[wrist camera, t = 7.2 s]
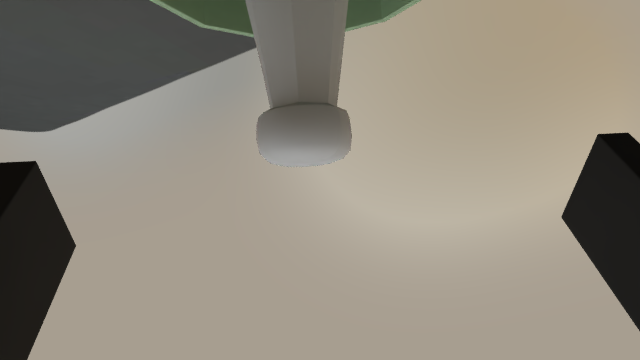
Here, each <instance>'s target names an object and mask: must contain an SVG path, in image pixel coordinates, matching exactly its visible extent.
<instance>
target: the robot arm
mask: <svg viewBox="0 0 640 360" xmlns="http://www.w3.org/2000/svg"><path fill="white" fill-rule="evenodd" d="M562 219H563V220H564V222H565V223H566V225H567V226H568V227H569V229H570V230H571V232H572V233H573V235H574V236H575V238H576V239H577V241H578V242H579V243H580V245H581V246H582V248H583V249H584V251H585V252H586V253H587V255H588V257H589V258H590V259H591V261H592V262H593V264H594V265H595V267H596V268H597V270H598V271H599V273H600V274H601V275H602V277H603V278H604V280H605V281H606V283H607V284H608V286H609V287H610V289H611V290H612V291H613V293H614V294H615V296H616V297H617V299H618V300H619V302H620V303H621V305H622V306H623V307H624V309H625V310H626V312H627V313H628V315H629V316H630V318H631V319H632V321H633V322H634V323H635V325H636V326H637V328H638V329H639V331H640V144H639V142H637V141H636V140H635V139H634V138H633V137H632V136H631V135H630V134H629V133H613V134H598V135H597V137H596V140H595V142H594V144H593V146H592V149H591V151H590V153H589V156H588V158H587V160H586V162H585V165H584V167H583V170H582V171H581V174H580V176H579V178H578V181H577V183H576V185H575V187H574V190H573V192H572V194H571V196H570V199H569V201H568V203H567V206H566V208H565V210H564V212H563V215H562ZM75 247H76V245H75V243H74V240H73V238H72V236H71V234H70V232H69V230H68V228H67V226H66V224H65V222H64V219H63V217H62V215H61V213H60V211H59V209H58V207H57V204H56V202H55V200H54V198H53V196H52V194H51V192H50V190H49V188H48V186H47V183H46V181H45V179H44V177H43V175H42V173H41V171H40V169H39V166H38V164H37V163H36V161H30V162H29V161H28V162H7V163H0V360H27V359H28V356H29V354H30V352H31V349H32V347H33V345H34V342H35V340H36V338H37V335H38V333H39V331H40V328H41V326H42V324H43V321H44V319H45V317H46V314H47V312H48V309H49V307H50V305H51V303H52V300H53V298H54V296H55V293H56V291H57V289H58V286H59V284H60V282H61V279H62V277H63V275H64V272H65V270H66V268H67V265H68V263H69V261H70V258H71V256H72V254H73V251H74V249H75Z"/></svg>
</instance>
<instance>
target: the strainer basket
mask: <svg viewBox="0 0 640 360" xmlns="http://www.w3.org/2000/svg"><path fill="white" fill-rule="evenodd" d="M150 1H152V2H154V3H156V4H158V5H160V6H162V7H163V8H165V9H167V10H169V11H171V12H173V13H175V14H177V15H179V16H181V17H183V18H184V19H186V20H188V21H190V22H192V23H194V24H196V25H198V26H200V27H203V28H208V29H214V30H219V31H224V32H229V33H235V34H240V35H245V36H250V37H254V34H253V30H252V26H251V22H250V18H249V14H248V10H247V6H246V1H245V0H150ZM419 1H421V0H348V8H347V17H346V26H345V32H346V31H350V30H354V29H358V28H361V27H365V26H369V25H373V24H377V23H381V22H385V21H387V20H389V19H390V18H392V17H394V16H396V15H397V14H399V13H401V12H402V11H404V10H406V9H407V8H409V7H411V6H413V5H414V4H416V3H417V2H419Z"/></svg>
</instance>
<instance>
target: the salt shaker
mask: <svg viewBox="0 0 640 360" xmlns="http://www.w3.org/2000/svg"><path fill="white" fill-rule="evenodd" d="M245 1H246V6H247V10H248V14H249V18H250V22H251V26H252V30H253V34H254V38H255V42H256V46H257V50H258V54H259V58H260V62H261V67H262V71H263V76H264V81H265V85H266V90H267V94H268V99H269V104H270V108H271V109H270V110H268V111H266V112H264V113H263V114H262V115H261V116H260V117H259V118H258V122H257V144H258V148H259V153H260V154H261V155H262V156H263V157H264V158H265V159H266V160H267V161H268V162H270V163H272V164H276V165H280V166H287V167H307V166H316V165H317V166H318V165H324V164H330V163H332V162H335V161H337V160H340V159H342V158H344V157H345V156H346V155H347V153H348V152H349V151H350V149H351V139H352V134H351V126H350V119H349V116H348V113H347V111H346V110H344V109H341V108H339V107H337V100H338V91H339V82H340V81H339V80H340V72H341V63H342V54H343V45H344V36H345V26H346V17H347V8H348V0H245Z"/></svg>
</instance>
